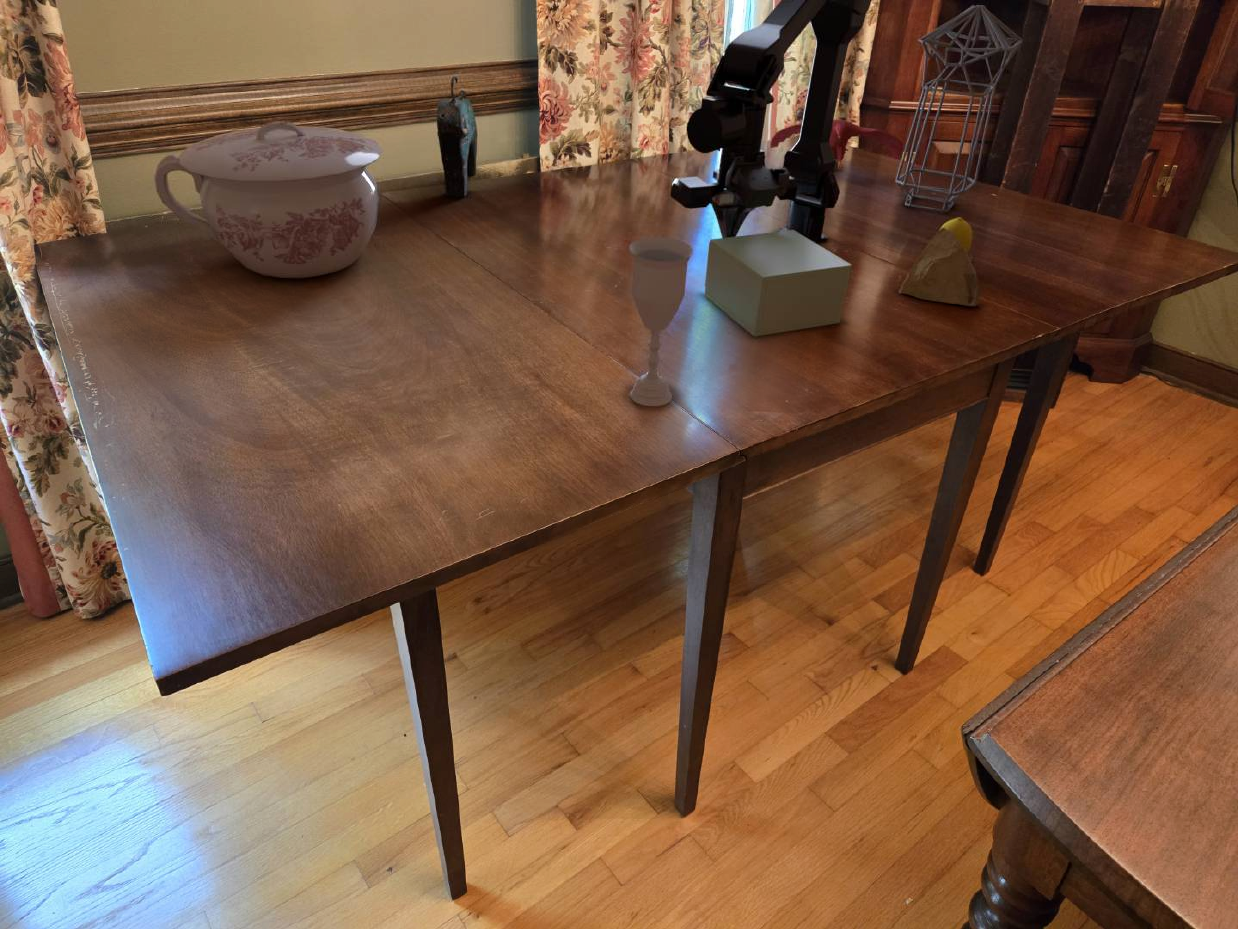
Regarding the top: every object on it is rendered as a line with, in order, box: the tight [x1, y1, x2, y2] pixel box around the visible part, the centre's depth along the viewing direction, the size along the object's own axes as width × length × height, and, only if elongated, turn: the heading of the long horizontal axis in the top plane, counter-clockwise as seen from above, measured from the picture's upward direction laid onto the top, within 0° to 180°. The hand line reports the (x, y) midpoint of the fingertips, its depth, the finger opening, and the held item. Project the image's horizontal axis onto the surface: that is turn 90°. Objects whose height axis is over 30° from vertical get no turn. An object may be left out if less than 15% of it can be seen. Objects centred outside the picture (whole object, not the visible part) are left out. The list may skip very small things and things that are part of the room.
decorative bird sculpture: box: [769, 119, 904, 169], centre depth 182 cm, size 28×9×15 cm
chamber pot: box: [153, 120, 384, 279], centre depth 121 cm, size 28×28×21 cm
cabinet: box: [704, 230, 853, 338], centre depth 117 cm, size 15×14×9 cm
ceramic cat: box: [436, 76, 478, 198], centre depth 158 cm, size 20×6×20 cm, turn 179°
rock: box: [898, 227, 981, 307], centre depth 123 cm, size 11×9×10 cm
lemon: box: [938, 216, 973, 254], centre depth 135 cm, size 6×6×8 cm
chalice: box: [628, 236, 694, 407], centre depth 93 cm, size 7×7×18 cm
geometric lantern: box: [894, 4, 1023, 213], centre depth 154 cm, size 16×16×35 cm
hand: (727, 244), depth 127 cm, fingers closed, pressing on drawer
